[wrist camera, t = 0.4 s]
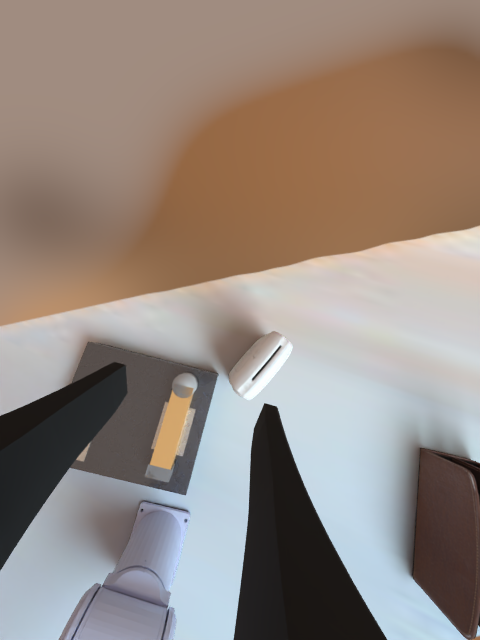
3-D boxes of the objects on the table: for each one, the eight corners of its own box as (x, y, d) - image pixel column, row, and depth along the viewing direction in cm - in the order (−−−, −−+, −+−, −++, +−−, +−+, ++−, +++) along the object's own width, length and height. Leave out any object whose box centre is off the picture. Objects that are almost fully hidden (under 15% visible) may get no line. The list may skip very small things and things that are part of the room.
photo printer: (242, 392, 36) (251, 411, 23) (224, 375, 36) (224, 385, 24) (278, 349, 37) (304, 345, 25) (261, 333, 38) (279, 323, 26)
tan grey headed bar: (179, 370, 33) (176, 370, 31) (200, 375, 33) (198, 376, 31) (149, 468, 30) (143, 476, 28) (172, 474, 30) (168, 482, 28)
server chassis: (188, 484, 32) (185, 495, 30) (54, 452, 32) (39, 460, 29) (218, 373, 36) (217, 375, 33) (97, 342, 35) (87, 341, 33)
